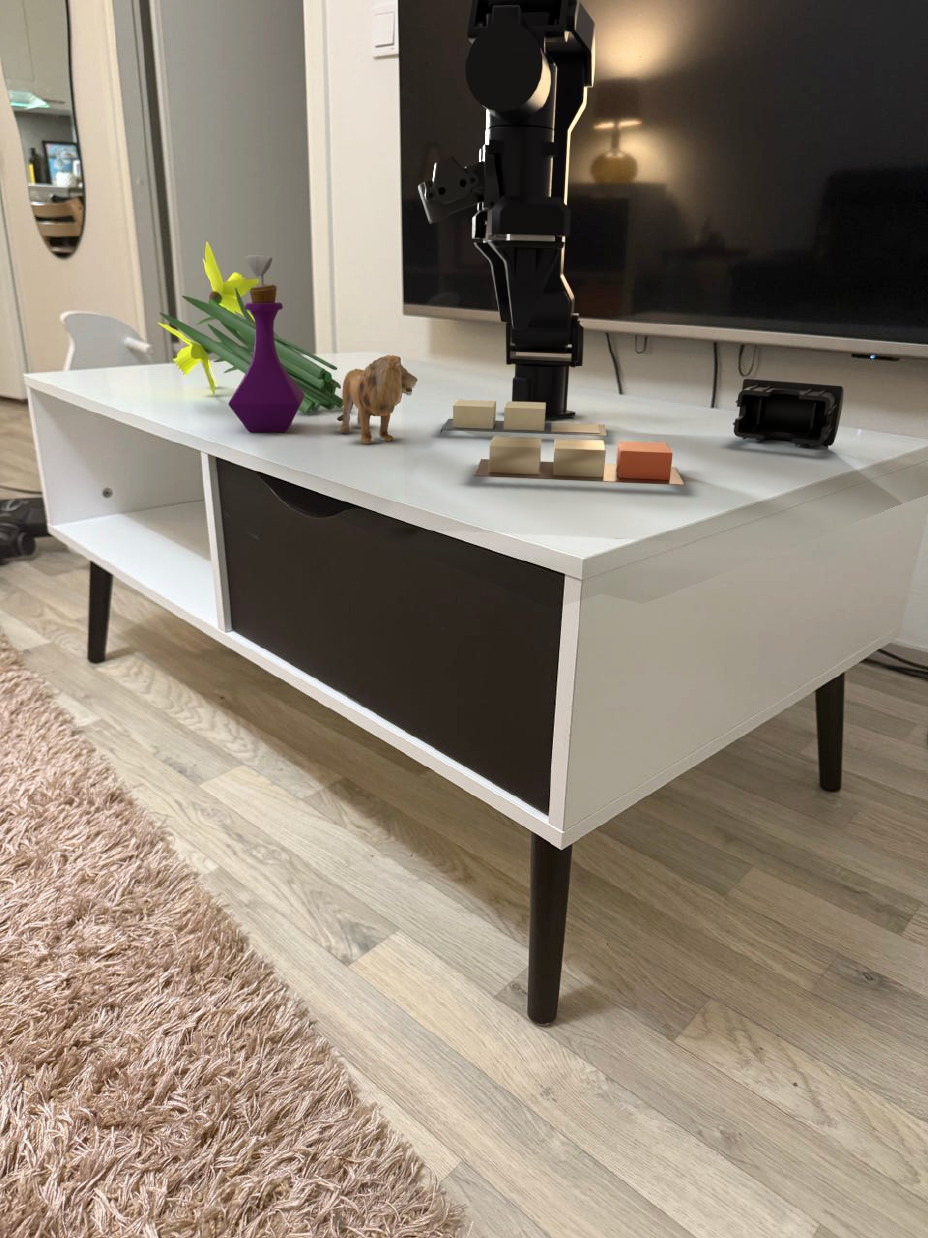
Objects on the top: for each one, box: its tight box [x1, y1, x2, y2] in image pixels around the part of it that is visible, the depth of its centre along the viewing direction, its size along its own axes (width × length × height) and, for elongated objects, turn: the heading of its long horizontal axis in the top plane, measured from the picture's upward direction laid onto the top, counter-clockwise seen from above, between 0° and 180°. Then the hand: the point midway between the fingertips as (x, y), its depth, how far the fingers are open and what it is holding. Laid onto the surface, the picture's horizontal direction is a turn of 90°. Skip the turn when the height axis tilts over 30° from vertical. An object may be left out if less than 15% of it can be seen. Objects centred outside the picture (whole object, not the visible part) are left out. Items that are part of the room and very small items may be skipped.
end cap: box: [732, 378, 845, 449], centre depth 95 cm, size 10×7×7 cm
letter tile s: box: [615, 440, 674, 480], centre depth 80 cm, size 4×4×2 cm
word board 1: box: [439, 399, 608, 437], centre depth 100 cm, size 18×7×3 cm, turn 84°
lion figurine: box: [336, 354, 418, 445], centre depth 96 cm, size 15×5×9 cm, turn 33°
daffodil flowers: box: [156, 241, 343, 415], centre depth 120 cm, size 17×15×35 cm
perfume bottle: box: [228, 254, 305, 433], centre depth 97 cm, size 8×8×18 cm
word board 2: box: [473, 435, 686, 486], centre depth 80 cm, size 18×7×3 cm, turn 84°
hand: (512, 325), depth 82 cm, fingers open, 9 cm apart
